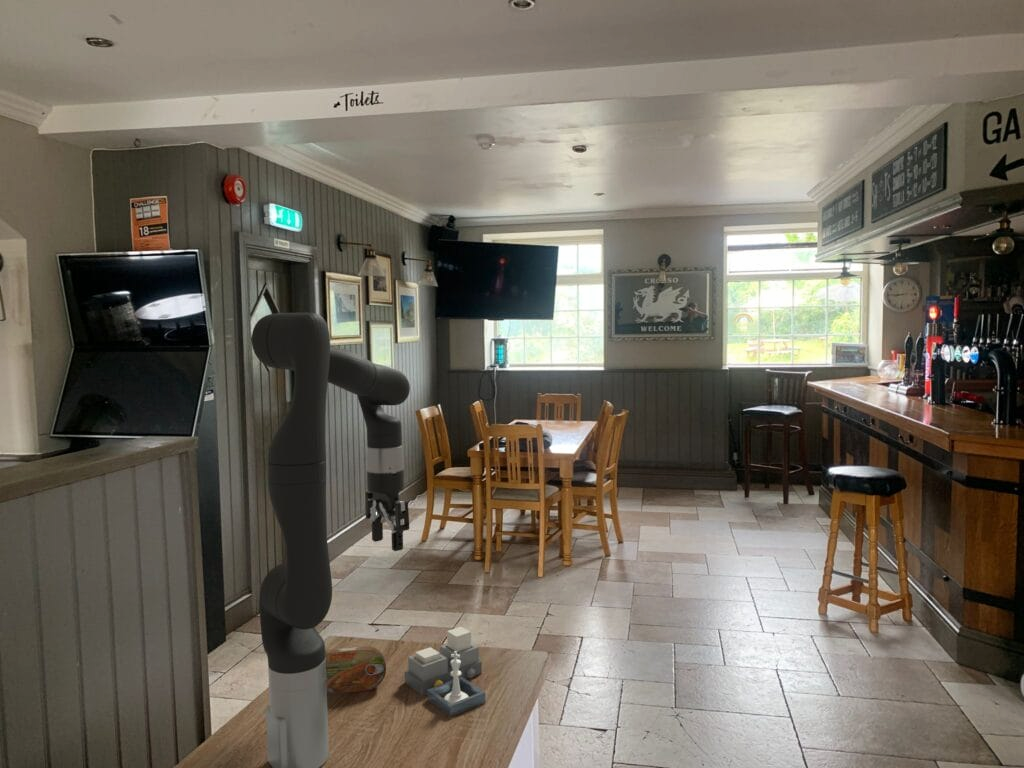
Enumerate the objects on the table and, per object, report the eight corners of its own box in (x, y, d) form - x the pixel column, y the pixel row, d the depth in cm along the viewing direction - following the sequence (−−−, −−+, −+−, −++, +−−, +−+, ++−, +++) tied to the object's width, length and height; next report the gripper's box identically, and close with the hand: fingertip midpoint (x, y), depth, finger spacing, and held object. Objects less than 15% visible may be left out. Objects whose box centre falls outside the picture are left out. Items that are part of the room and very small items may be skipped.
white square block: (425, 674, 143) (424, 658, 143) (415, 668, 146) (415, 652, 146) (440, 669, 145) (439, 653, 145) (430, 662, 148) (430, 647, 148)
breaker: (456, 652, 148) (456, 636, 148) (447, 646, 151) (447, 631, 150) (471, 647, 150) (470, 631, 150) (461, 641, 153) (461, 626, 153)
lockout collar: (450, 717, 133) (450, 706, 133) (427, 699, 139) (426, 689, 139) (485, 702, 138) (485, 692, 138) (461, 686, 145) (461, 676, 144)
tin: (309, 696, 141) (308, 655, 141) (311, 688, 145) (310, 648, 144) (386, 689, 144) (385, 649, 143) (386, 682, 147) (385, 642, 146)
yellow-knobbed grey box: (424, 697, 140) (424, 670, 140) (404, 682, 146) (404, 656, 146) (483, 674, 149) (483, 649, 149) (462, 661, 155) (462, 637, 155)
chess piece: (465, 709, 136) (464, 658, 135) (440, 706, 137) (439, 656, 136) (472, 696, 141) (471, 647, 140) (448, 693, 142) (447, 645, 141)
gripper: (352, 465, 149) (355, 541, 150) (385, 475, 138) (387, 557, 139) (384, 461, 154) (386, 534, 155) (419, 470, 143) (421, 549, 144)
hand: (387, 545), depth 147 cm, fingers open, 8 cm apart
